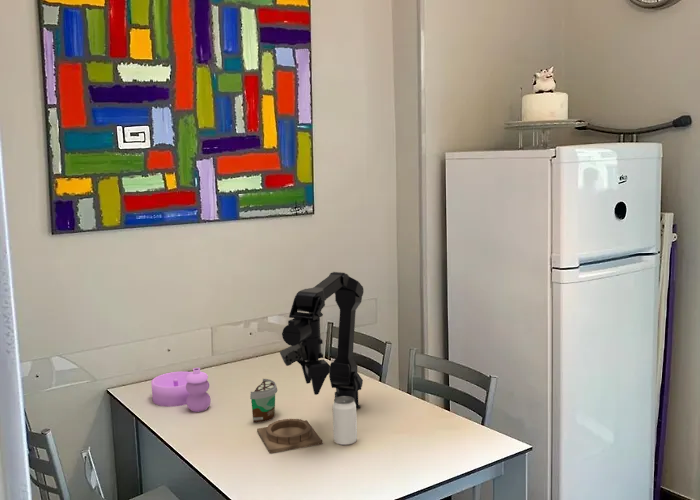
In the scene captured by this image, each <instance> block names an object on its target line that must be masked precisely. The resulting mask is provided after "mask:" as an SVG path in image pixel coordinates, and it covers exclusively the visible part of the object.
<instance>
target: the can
mask: <svg viewBox="0 0 700 500" xmlns="http://www.w3.org/2000/svg"><path fill="white" fill-rule="evenodd" d="M332 425H333V430H332V431H333V441H334V443H336V444H337V445H340V446H348V445H349V446H350V445H353V444H354V443H356V442H357V439H358V432H357V431H358V429H357V427H358V426H357V425H358V423H357V408H356V404H355V402H354V398H352V397H349V396H340V397H337V398H335V397H334V400H333V404H332Z"/></svg>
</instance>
